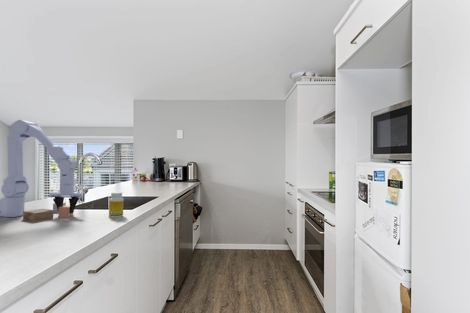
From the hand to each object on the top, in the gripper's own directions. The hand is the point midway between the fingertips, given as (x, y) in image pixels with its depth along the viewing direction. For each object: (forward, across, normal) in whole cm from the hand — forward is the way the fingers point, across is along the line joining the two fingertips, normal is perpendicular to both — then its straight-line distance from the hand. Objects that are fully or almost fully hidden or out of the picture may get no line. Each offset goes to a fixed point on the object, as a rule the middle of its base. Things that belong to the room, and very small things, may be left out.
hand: (66, 212), depth 132 cm
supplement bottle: (+2, +23, 0) cm, 23 cm away
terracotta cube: (+1, 0, 0) cm, 1 cm away
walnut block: (+2, -8, -7) cm, 11 cm away
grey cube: (+2, -8, +11) cm, 14 cm away
